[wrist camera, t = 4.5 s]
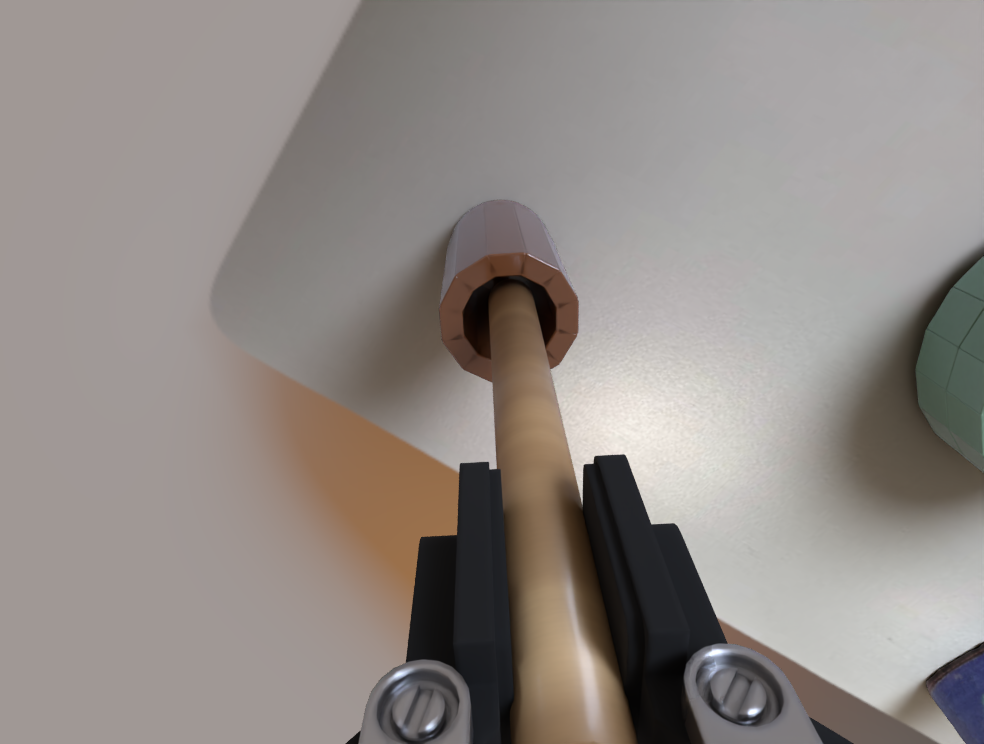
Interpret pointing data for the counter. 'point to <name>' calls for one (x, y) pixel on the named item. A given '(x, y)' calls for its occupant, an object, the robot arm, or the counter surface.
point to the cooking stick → (548, 550)
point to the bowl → (956, 368)
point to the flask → (962, 694)
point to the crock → (490, 259)
